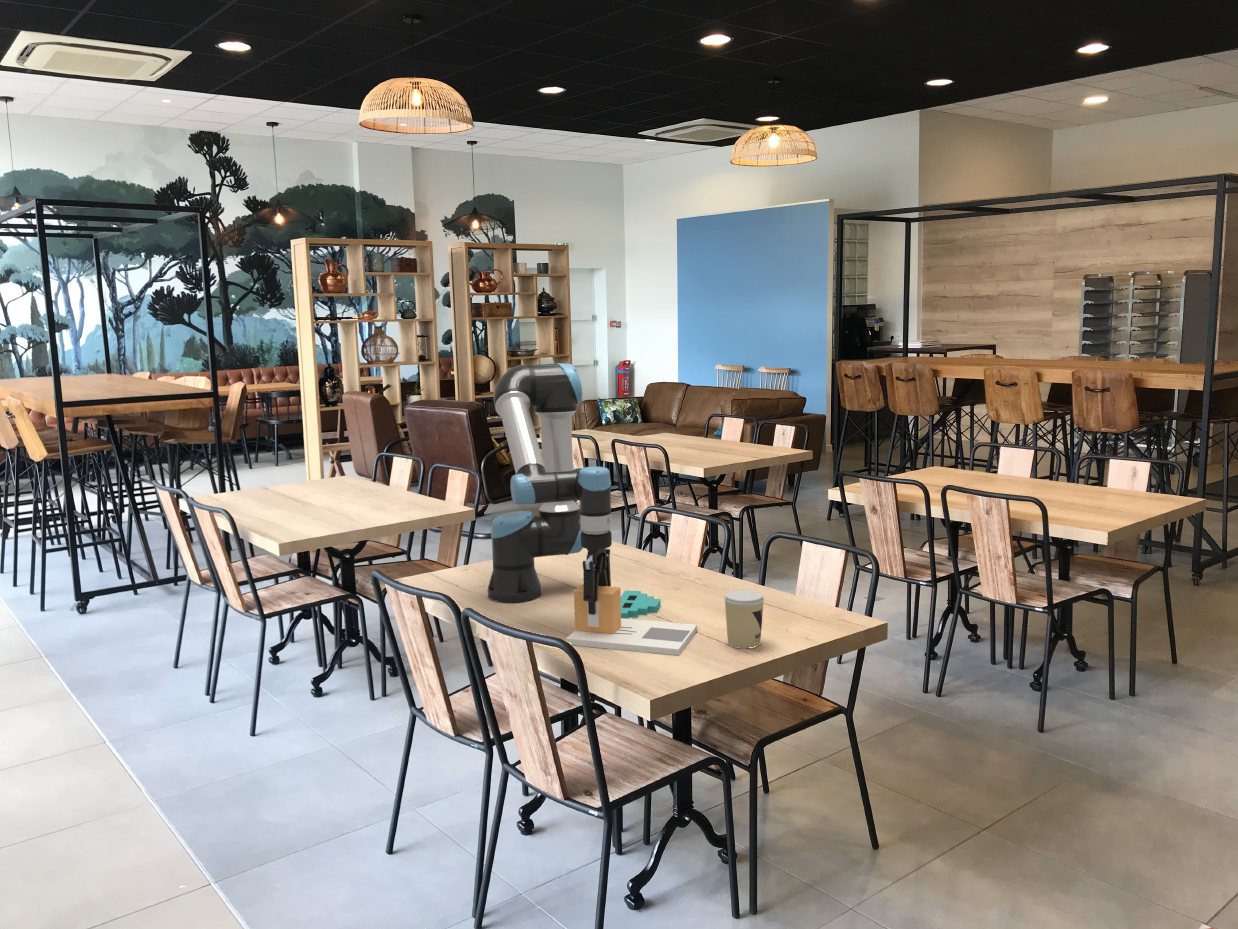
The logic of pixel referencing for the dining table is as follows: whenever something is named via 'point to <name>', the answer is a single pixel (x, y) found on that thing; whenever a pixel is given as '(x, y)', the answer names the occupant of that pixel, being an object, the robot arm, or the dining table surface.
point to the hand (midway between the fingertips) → (598, 621)
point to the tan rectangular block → (607, 610)
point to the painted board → (639, 637)
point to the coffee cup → (744, 617)
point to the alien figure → (637, 604)
